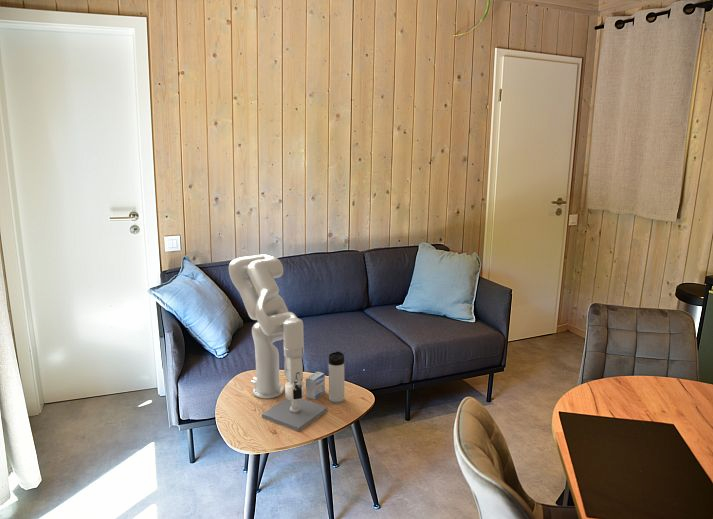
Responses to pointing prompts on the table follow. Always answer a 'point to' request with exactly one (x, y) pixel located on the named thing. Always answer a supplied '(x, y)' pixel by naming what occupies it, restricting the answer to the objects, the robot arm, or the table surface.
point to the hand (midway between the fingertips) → (294, 393)
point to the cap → (289, 390)
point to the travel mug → (336, 377)
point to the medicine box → (315, 385)
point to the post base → (294, 413)
